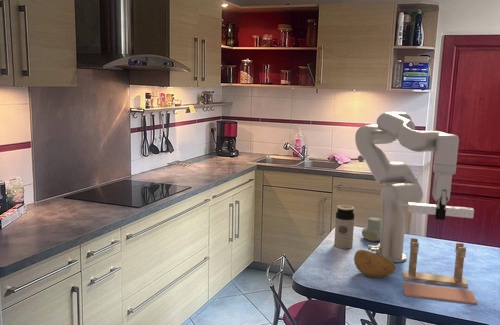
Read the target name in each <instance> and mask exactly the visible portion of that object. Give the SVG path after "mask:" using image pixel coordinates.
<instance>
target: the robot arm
mask: <svg viewBox="0 0 500 325" xmlns="http://www.w3.org/2000/svg"><path fill="white" fill-rule="evenodd" d="M354 140H355V141H354V142H355V145H356V148H357V151H358V153H359V154H360V155H361V157H362V158H363V159H364V161H365V162H366V164H367V166H368V168H369V170H370V172H371V174H372V176H373V178H374V180H375V181H376V183H377V184H378V185H381V186H383V187H382V189H381V191H380V201H381V202H380V203H381V218H380V219H381V233H380V241H379V243H378V244H376V245H369V244H368V247H367V249H368V250H367V251H370V252H373V253H376V254H378V255H381V256H383V257H385V258H387V259H389V260H391V261H392V262H393V263H403V262H405V261H406V260H407V255H406V254H405V253H404V243H405V242H404V241H405V228H406V213H405V212H404V210H403V207H404V206H407V207H408V203H421V201H422V200H423V197H424V192H423V189H422V186H421V184H420V182H419V181H418V179H417V177H416V176H415V174H414V172H413V171H412V169H411V167H410V166H409V165H408V164H407V163H405V162H401V161H390V160H389V159H388V158H387V156H386V153H385V152H384V151H383V149H381V148H379V147H378V146H377V145H381V144H382V145H387V144H392V143H393V142H396V141H398V142H399V145H401V146H402V147H404V148H406V149H408V150H409V151H410V150H411V151H412V152H417V153H418V152H419V153H422V152H434V154H433V155H434V159H433V167H432V172H433V173H434V177H433V185H432V191H431V192H432V194H431V195H432V197H433V199H434V201H435V205H437V208H436V215H434V216H433V217H435V218H434V219H435V220H438V221H439V220H441V221H446V220H445V219H446V216H445V214H446V206H447V203H448V202H449V201H450V198H451V191H452V190H451V189H452V182H453V181H452V178H453V175H455V174H456V170H457V162H458V152H459V144H460V138H459V136H458V135H456V134H453V133H446V132H443V131H439V130H421V131H418V130H416V126H415V123H414V122H413V120H412V117H411V116H410V115H409V114H408V113H407V112H403V111H386V112H383V113H380V115H378V116H377V119H376V124H366V125H362V126H360V127H358V129H357V130H356V132H355V138H354Z"/></svg>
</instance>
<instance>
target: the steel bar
mask: <svg viewBox="0 0 500 325" xmlns="http://www.w3.org/2000/svg"><path fill="white" fill-rule="evenodd" d="M436 208H437V205H436V204H431V203H421V202H420V203H408V205H407V212H408V213H409V214H410V213H412V214H421V215H422V214H424V215H436ZM474 213H475V209H474V208H473V207H465V206H453V205H446V214H445V217H453V218H455V217H456V218H466V219H474Z"/></svg>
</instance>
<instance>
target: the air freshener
mask: <svg viewBox="0 0 500 325" xmlns="http://www.w3.org/2000/svg"><path fill="white" fill-rule="evenodd" d="M380 233H381V218H379V217H374V216H373V217H368V218H367V226H365V227H363V228H362V231H361V235H362V237H363V238H364V239H366V240H367V241H369V242H380Z"/></svg>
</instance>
